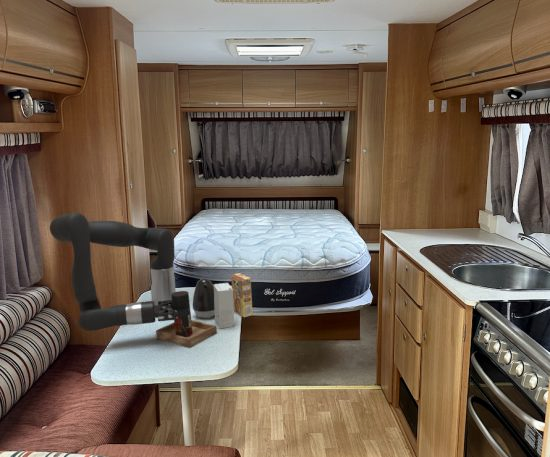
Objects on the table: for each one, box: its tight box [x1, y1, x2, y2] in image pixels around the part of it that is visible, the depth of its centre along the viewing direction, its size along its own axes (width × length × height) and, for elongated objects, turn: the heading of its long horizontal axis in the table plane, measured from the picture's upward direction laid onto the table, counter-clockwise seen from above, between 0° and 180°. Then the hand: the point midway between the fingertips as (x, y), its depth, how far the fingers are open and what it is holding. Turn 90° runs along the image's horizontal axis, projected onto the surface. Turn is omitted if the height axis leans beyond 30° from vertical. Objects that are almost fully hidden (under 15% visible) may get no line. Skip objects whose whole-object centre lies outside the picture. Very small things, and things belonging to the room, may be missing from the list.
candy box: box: [230, 272, 253, 318], centre depth 199 cm, size 9×4×15 cm, turn 33°
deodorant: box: [171, 290, 193, 337], centre depth 179 cm, size 6×6×15 cm
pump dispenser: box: [192, 277, 215, 319], centre depth 198 cm, size 10×10×15 cm
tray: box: [155, 318, 218, 349], centre depth 181 cm, size 16×14×3 cm
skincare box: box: [213, 282, 235, 329], centre depth 189 cm, size 8×6×15 cm
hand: (188, 307), depth 179 cm, fingers open, 8 cm apart
